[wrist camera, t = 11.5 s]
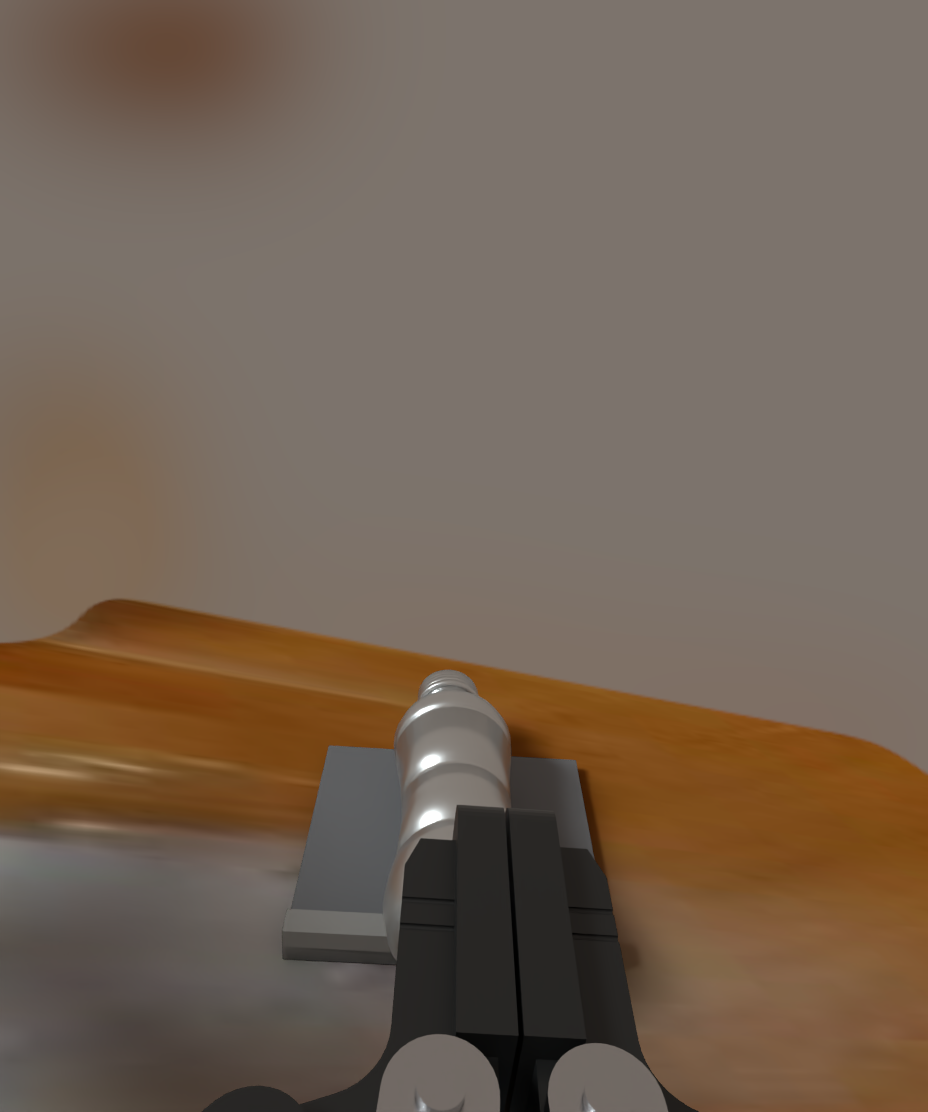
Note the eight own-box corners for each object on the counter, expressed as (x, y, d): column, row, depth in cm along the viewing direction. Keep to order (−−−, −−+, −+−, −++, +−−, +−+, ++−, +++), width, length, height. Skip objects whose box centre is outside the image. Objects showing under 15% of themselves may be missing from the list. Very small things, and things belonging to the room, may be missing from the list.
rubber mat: (282, 958, 37) (281, 931, 36) (328, 756, 49) (329, 732, 49) (611, 975, 37) (617, 948, 36) (573, 770, 50) (577, 747, 49)
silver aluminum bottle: (354, 993, 32) (376, 717, 51) (508, 1038, 33) (474, 753, 52) (420, 872, 30) (418, 632, 49) (581, 924, 31) (519, 671, 50)
